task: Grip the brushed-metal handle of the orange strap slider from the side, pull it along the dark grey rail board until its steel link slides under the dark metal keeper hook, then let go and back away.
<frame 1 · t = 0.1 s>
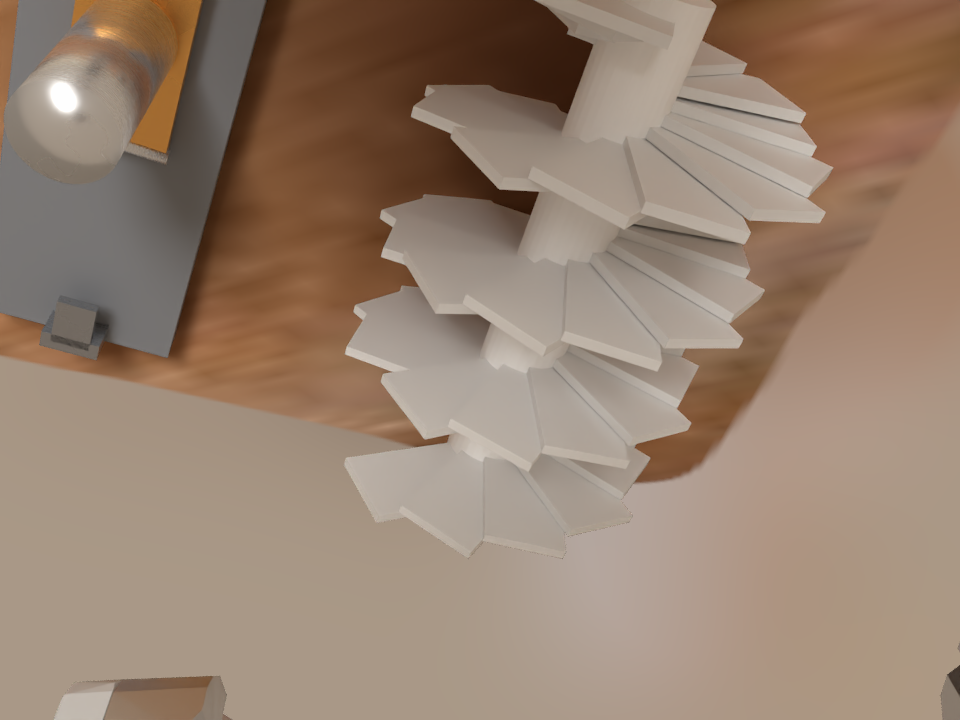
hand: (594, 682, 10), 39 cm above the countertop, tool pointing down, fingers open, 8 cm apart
spiral staircase: (544, 172, 49), on the countertop
strap slider: (102, 85, 37), point 8 cm above the countertop, slide at 0.0 cm
keeper hook: (125, 126, 46), resting on rail board
rail board: (125, 126, 46), on the countertop
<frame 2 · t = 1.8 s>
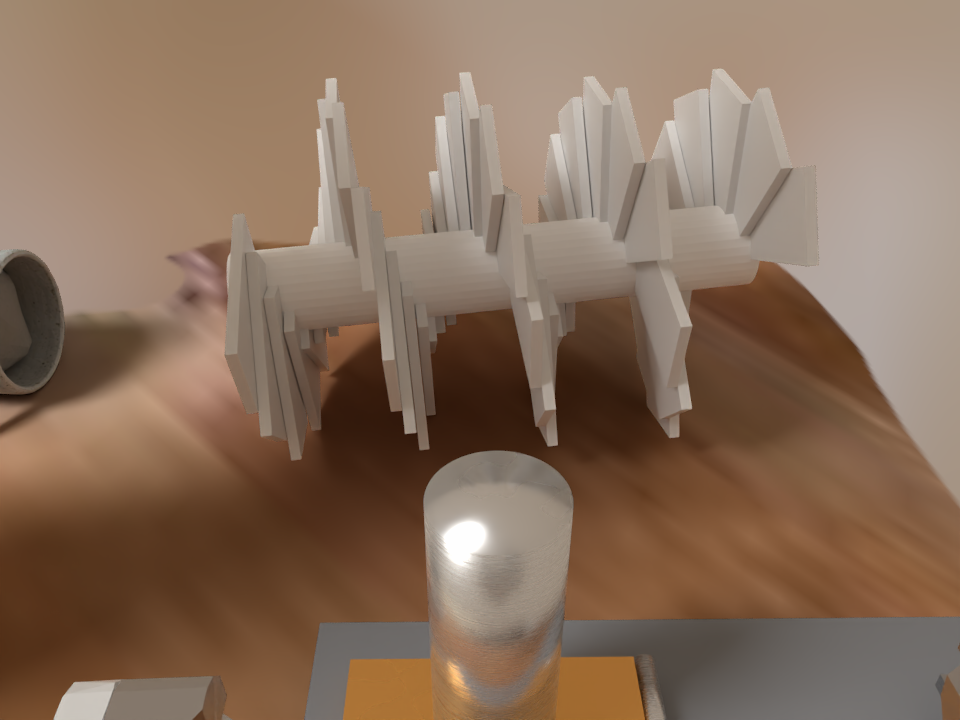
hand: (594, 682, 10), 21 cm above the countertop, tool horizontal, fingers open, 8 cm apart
spiral staircase: (493, 408, 49), on the countertop
strap slider: (509, 630, 27), point 8 cm above the countertop, slide at 0.0 cm
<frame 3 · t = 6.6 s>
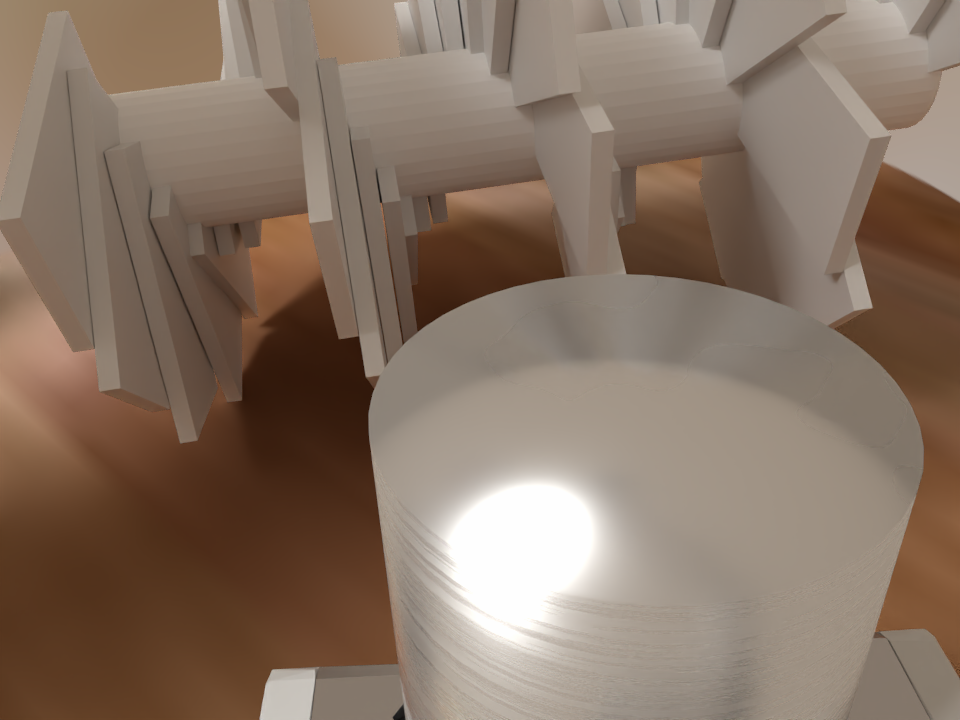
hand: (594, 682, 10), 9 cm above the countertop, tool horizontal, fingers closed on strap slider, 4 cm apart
spiral staircase: (510, 357, 32), on the countertop
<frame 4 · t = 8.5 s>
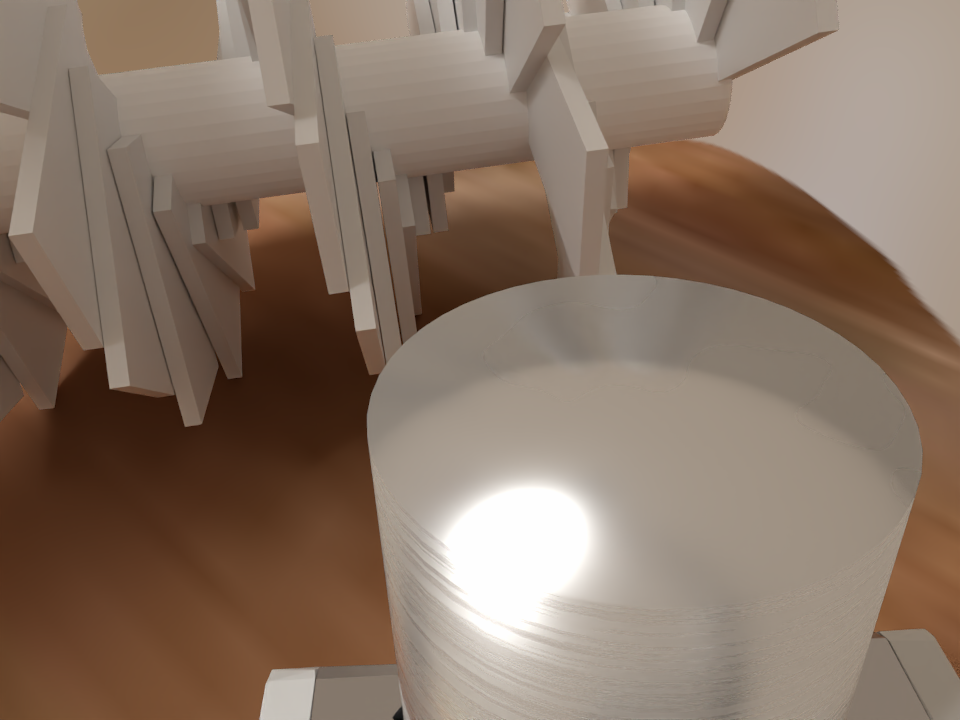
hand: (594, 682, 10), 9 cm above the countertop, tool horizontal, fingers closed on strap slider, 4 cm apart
spiral staircase: (336, 364, 32), on the countertop
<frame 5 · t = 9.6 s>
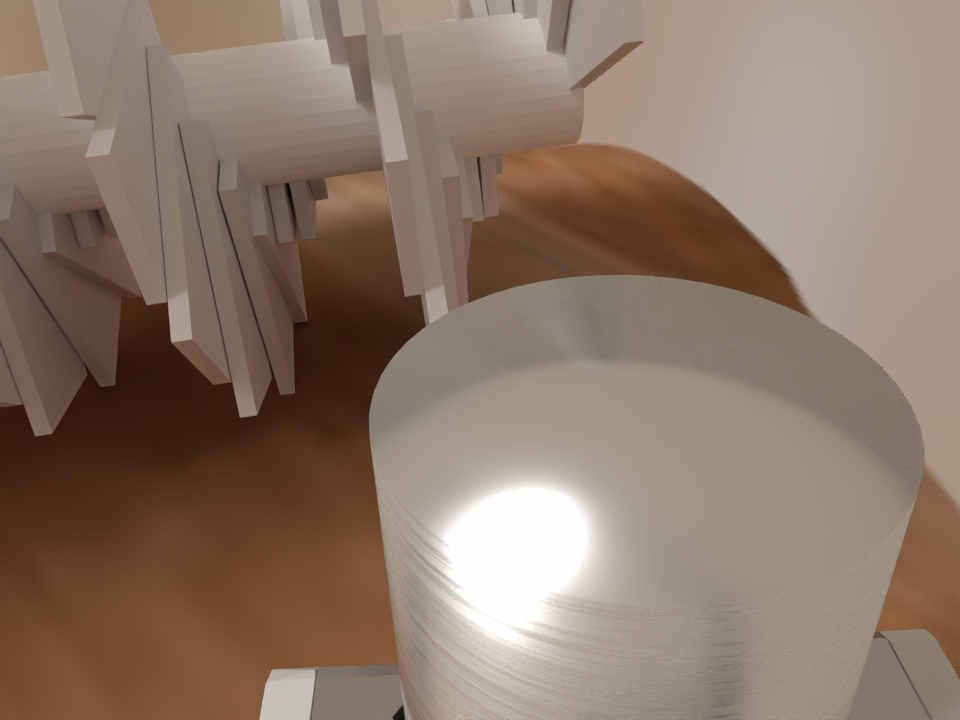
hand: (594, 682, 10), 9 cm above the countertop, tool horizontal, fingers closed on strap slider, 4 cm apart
spiral staircase: (213, 372, 32), on the countertop
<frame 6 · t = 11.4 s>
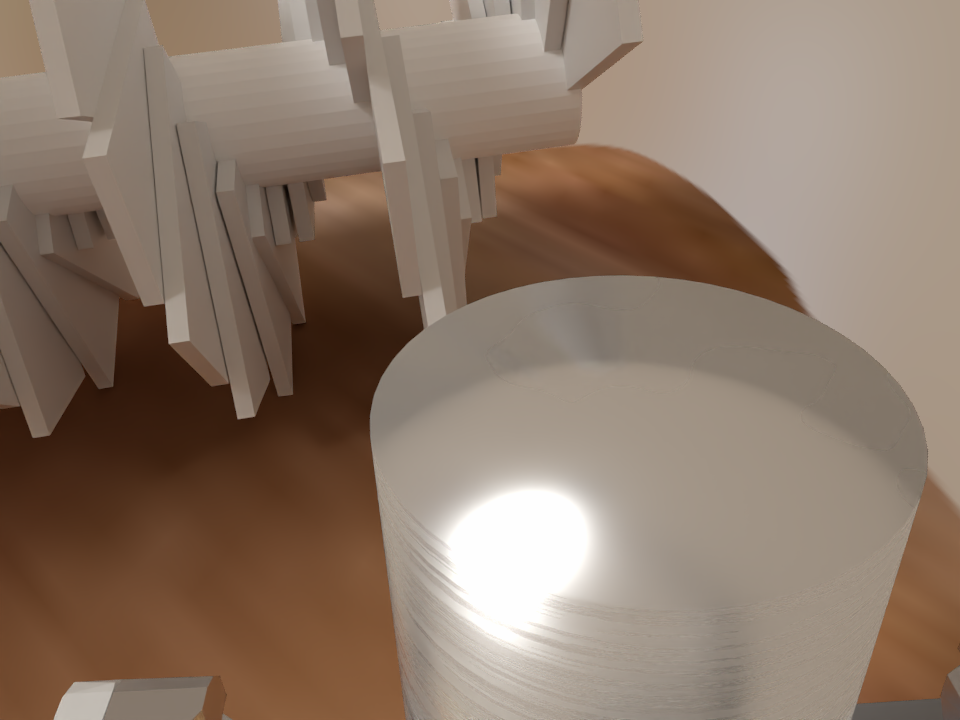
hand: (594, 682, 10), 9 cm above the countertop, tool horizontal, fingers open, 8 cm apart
spiral staircase: (211, 374, 32), on the countertop
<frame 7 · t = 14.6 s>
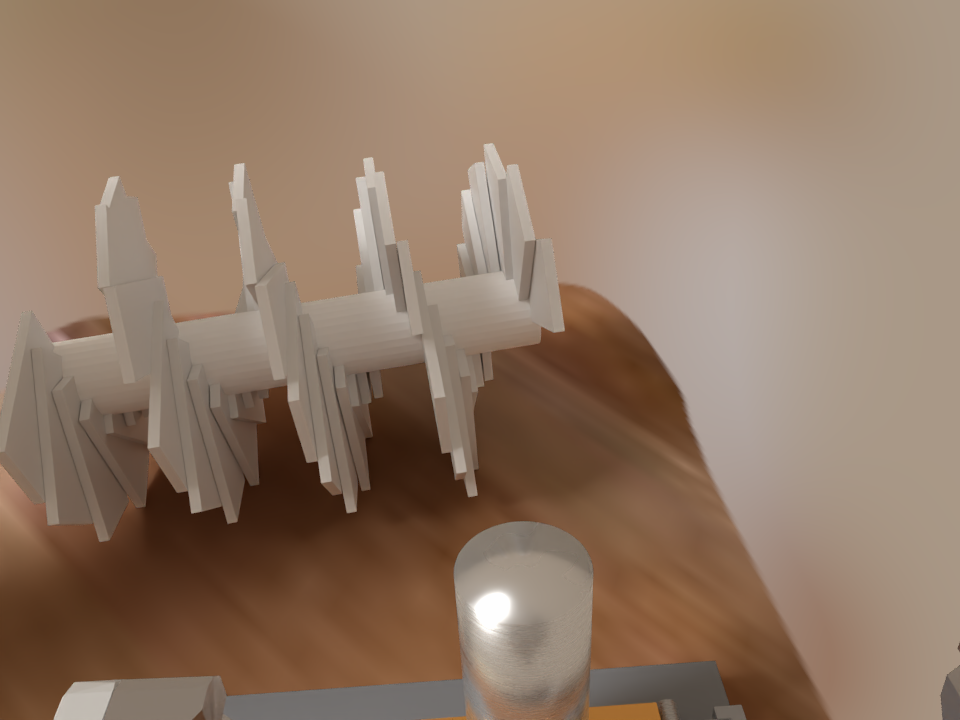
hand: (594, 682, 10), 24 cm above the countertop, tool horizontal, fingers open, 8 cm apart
spiral staircase: (317, 474, 51), on the countertop
strap slider: (539, 688, 29), point 8 cm above the countertop, slide at 10.5 cm
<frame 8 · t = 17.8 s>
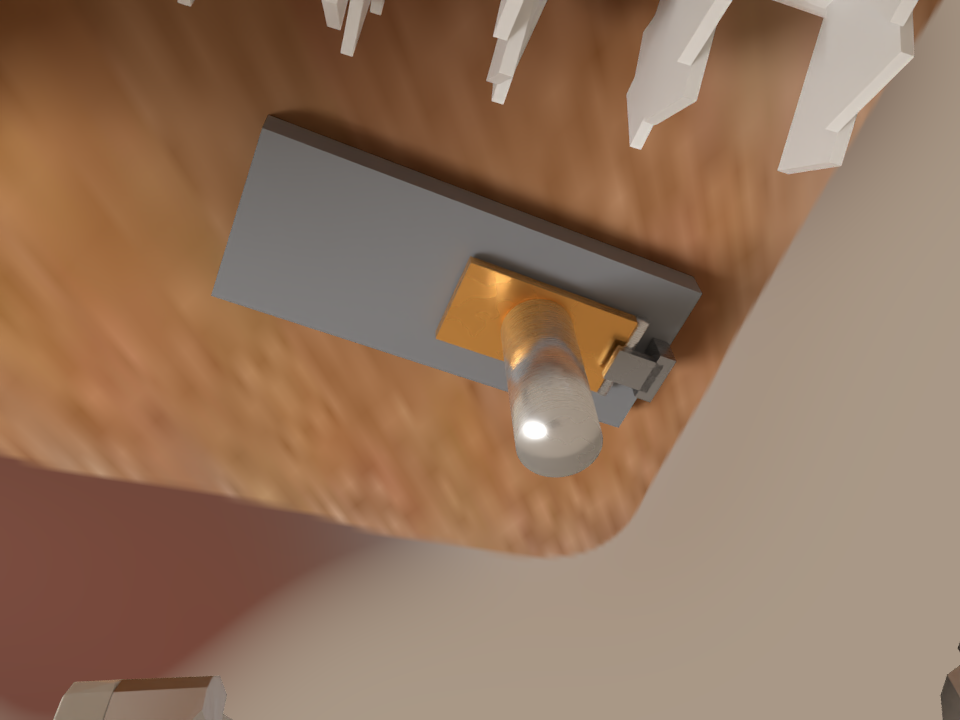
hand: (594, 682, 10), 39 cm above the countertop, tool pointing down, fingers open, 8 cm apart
strap slider: (553, 380, 46), point 8 cm above the countertop, slide at 10.5 cm
keeper hook: (459, 277, 51), resting on rail board
rail board: (459, 277, 51), on the countertop
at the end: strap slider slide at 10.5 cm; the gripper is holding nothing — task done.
